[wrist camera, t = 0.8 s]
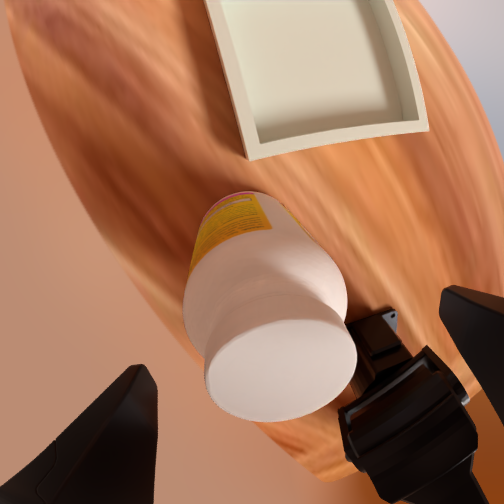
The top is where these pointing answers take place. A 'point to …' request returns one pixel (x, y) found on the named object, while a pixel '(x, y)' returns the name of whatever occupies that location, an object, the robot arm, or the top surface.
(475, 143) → the top surface
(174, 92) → the top surface
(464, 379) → the top surface
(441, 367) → the robot arm
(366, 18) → the tray
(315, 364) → the supplement bottle
